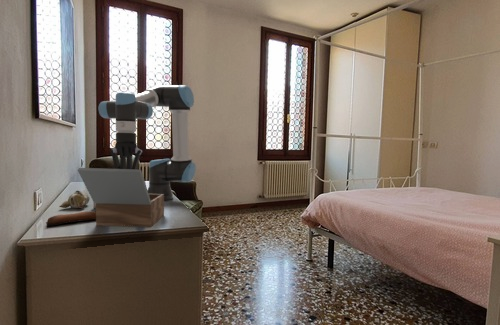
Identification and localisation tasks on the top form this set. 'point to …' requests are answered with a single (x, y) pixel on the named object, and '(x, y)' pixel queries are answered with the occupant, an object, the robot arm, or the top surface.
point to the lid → (115, 186)
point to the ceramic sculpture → (76, 200)
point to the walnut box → (131, 213)
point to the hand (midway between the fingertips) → (126, 190)
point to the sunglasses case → (70, 218)
